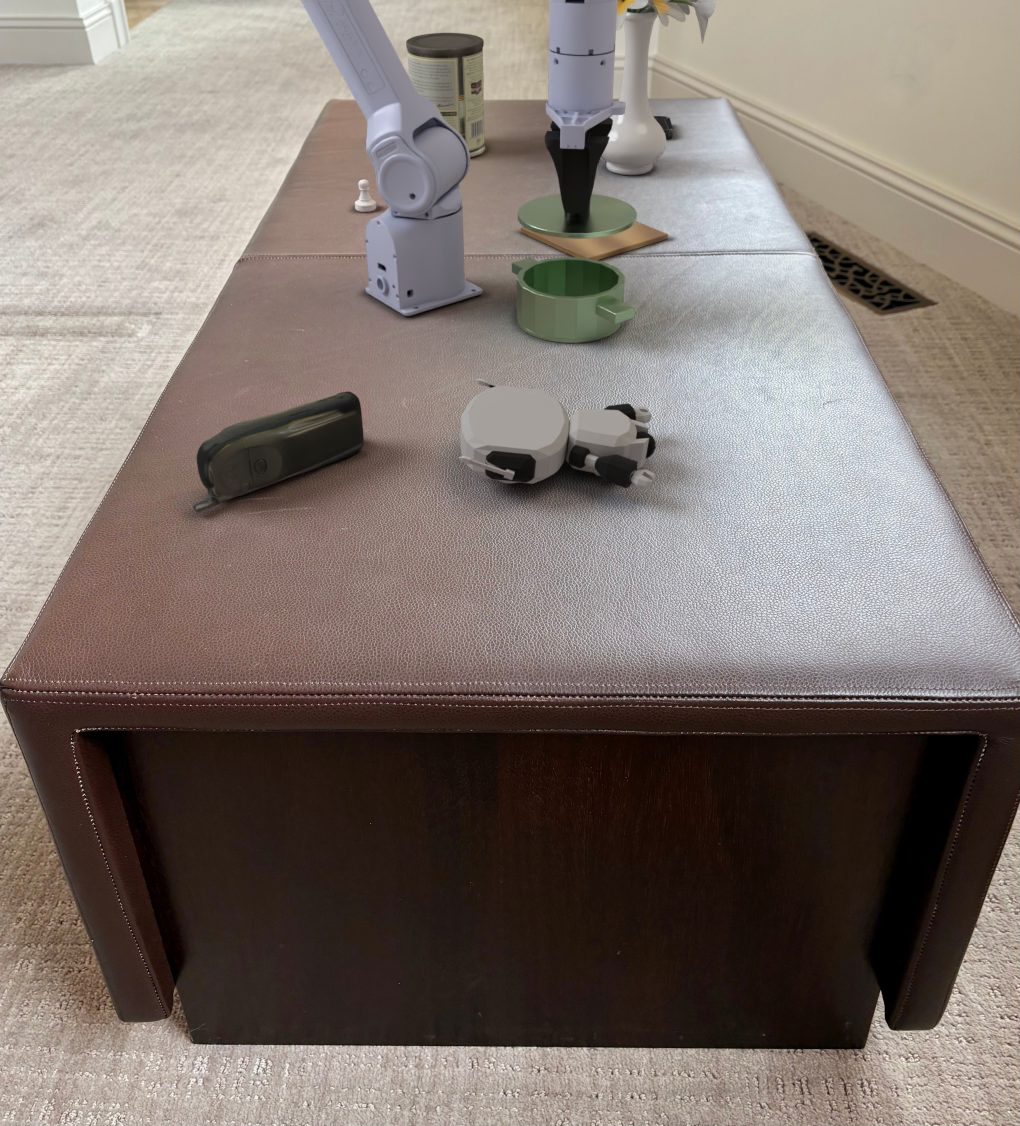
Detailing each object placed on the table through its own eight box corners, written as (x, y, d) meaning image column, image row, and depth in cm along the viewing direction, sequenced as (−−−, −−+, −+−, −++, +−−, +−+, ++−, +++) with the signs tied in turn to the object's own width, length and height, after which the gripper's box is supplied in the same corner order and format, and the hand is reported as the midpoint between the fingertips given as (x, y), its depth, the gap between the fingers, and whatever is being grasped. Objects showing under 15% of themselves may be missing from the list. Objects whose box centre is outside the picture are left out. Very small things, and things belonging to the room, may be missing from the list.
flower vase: (709, 183, 138) (734, -37, 123) (567, 183, 138) (574, -37, 123) (695, 153, 148) (716, -53, 133) (563, 153, 148) (569, -53, 133)
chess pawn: (351, 208, 130) (348, 179, 128) (369, 203, 132) (367, 175, 130) (362, 213, 129) (359, 184, 127) (380, 209, 130) (378, 180, 128)
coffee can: (418, 138, 154) (413, 31, 146) (489, 140, 153) (487, 32, 145) (406, 159, 146) (399, 47, 138) (480, 161, 145) (478, 49, 137)
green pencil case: (345, 382, 84) (170, 443, 76) (368, 396, 82) (190, 459, 74) (350, 437, 87) (182, 502, 79) (372, 452, 85) (201, 519, 77)
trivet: (588, 263, 116) (588, 258, 116) (520, 232, 124) (520, 227, 123) (667, 239, 122) (668, 234, 121) (598, 211, 129) (598, 206, 129)
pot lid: (568, 254, 95) (569, 201, 92) (494, 220, 102) (493, 170, 99) (661, 227, 100) (665, 176, 97) (584, 196, 107) (585, 148, 104)
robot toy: (648, 437, 88) (467, 419, 88) (656, 388, 85) (469, 370, 85) (652, 522, 78) (449, 502, 78) (662, 470, 75) (451, 449, 76)
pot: (581, 363, 97) (583, 318, 94) (480, 307, 107) (479, 264, 104) (662, 333, 102) (666, 289, 99) (559, 282, 112) (560, 241, 109)
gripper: (623, 69, 85) (615, 236, 94) (632, 32, 97) (624, 183, 105) (536, 67, 86) (535, 232, 94) (555, 31, 98) (553, 181, 106)
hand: (577, 206), depth 100 cm, fingers closed on pot lid, 2 cm apart
